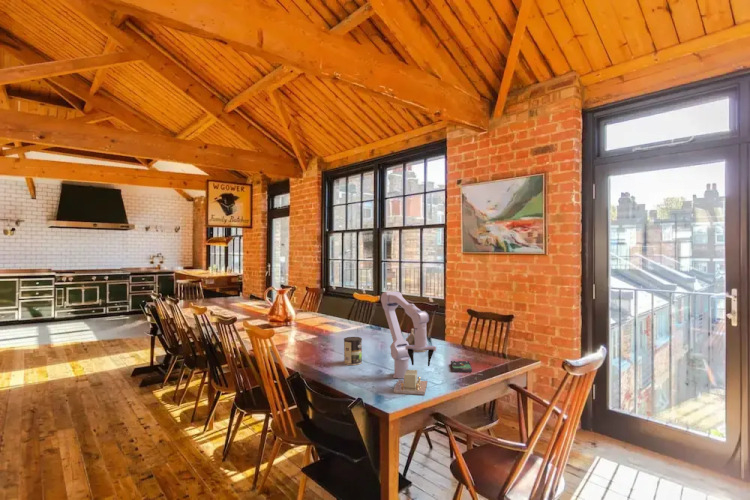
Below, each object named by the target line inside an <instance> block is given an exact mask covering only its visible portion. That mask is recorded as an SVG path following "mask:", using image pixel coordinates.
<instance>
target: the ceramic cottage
mask: <svg viewBox="0 0 750 500" xmlns="http://www.w3.org/2000/svg"><path fill="white" fill-rule="evenodd" d="M405 340H406V341H407V342H408V344H409V345H415V328H411V329H410V334H409V335H408V336H407V338H405ZM425 351H426V352H428V351H427V350H414V353H426V352H425Z"/></svg>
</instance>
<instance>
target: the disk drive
mask: <svg viewBox="0 0 750 500" xmlns="http://www.w3.org/2000/svg"><path fill="white" fill-rule="evenodd" d="M450 367H451V371H452V373H468V372H469V373H471V372H472V373H473V368H472V366H471V362H470V361H469V360H458V361H456V360H450Z"/></svg>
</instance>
